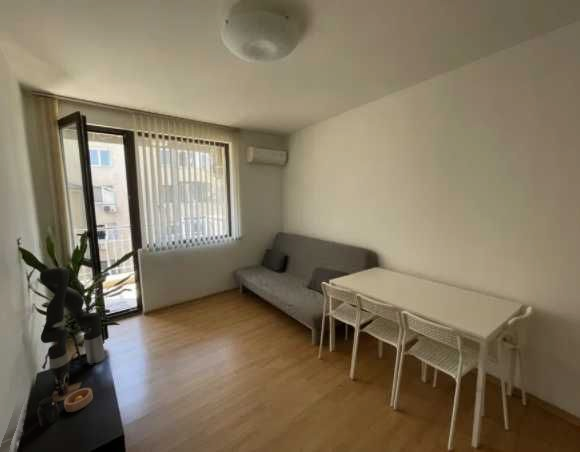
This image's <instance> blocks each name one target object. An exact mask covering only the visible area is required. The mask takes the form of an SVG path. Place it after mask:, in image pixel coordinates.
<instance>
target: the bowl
mask: <svg viewBox="0 0 580 452" xmlns="http://www.w3.org/2000/svg"><path fill="white" fill-rule="evenodd" d="M93 395H94V394H93V389H92V388H90V387H83V388H79V390H77V391H75V392H73V393H72V394H70V395H69V396H68V397H67V398H66V399H65V400H63V407H64V410H65V411H66V412H67V413H73V412H76V411H79V410H81V409H83V408H85V407H86V406H88V404H90V403H91V402H92V401H93V397H94V396H93ZM78 396H83V399H81V400H79V401H77V402H74V400H75V398H76V397H78Z"/></svg>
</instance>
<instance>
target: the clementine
mask: <svg viewBox="0 0 580 452" xmlns="http://www.w3.org/2000/svg"><path fill="white" fill-rule="evenodd" d="M81 399H83V396H78V397H76V398H75V400H74V402H77V401H79V400H81Z"/></svg>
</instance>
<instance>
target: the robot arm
mask: <svg viewBox="0 0 580 452" xmlns="http://www.w3.org/2000/svg"><path fill="white" fill-rule="evenodd" d="M39 280H40V282H41V284H42V285H43V286H44V287H45V288H47V289H48V290H49V291H50V292H51V293H52V294H53V297H52V299H51V300H50V302H49V303H48V305H47V308H46V314H45V315H46V316H45V323H44V325H43V326H44V327H43V329H42V330H41V331H42V332H41V335H40V340H41V342H42V343H43V344H50V343H54V344H52V345H50V346H49V347H48V348H47V349H48V350H47V352H48V353H47V354H48V357H49V358H48V359H49V360H48V362H49V368H50V369H49V370H50V374H51V376H55V380H53V387H54V391H55V392H56V391H58V396H62V395H64V389H63V384H64V383H67V384H68V386H69V385H70V381H69V378H70V368H71V367H70V360H69V355H68V353H67V347H66V344H67V338H68V334H69V331H68V329H67V327H65V326H60V327H55V325H56V324H59V323H62V322H63V321H64V319H65V309H66V311H68V313H69V314H70V315H71V316H72V318H73V320H74V321H75V323H76V325H77V326H78V327H79V328H82V329H87V328H90V330H88V331H87V332H86V331H85V333H84V334H83V340H84V341H83V342H84V346H85V347H84V348H85V353H86V358H87V359H86V360H87V364H88V363H89V364H88V365H93V364H92V363H96V364H98V363H100V362H102V361H103V360H105V358H106V354H105V349H104V348H105V347H104V342H103V334H102V329H103V328H102V319H101V318H102V317H101V315H100V312H96V311H95V312H85V311H84V310H83V306H84V304H85V299H84V298H83V296H82V294H81V293H80V292H79V291H78V290H76V289H75V288H72V287H70V286H68V285H69V282H70V271H69V268H66V267H64V266H63V267H62V266H61V267H53V268H48V269H47V268H46V269H43V270H42V271H41V272H40V273H39ZM56 342H57V343H56Z"/></svg>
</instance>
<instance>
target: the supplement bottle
mask: <svg viewBox="0 0 580 452" xmlns="http://www.w3.org/2000/svg"><path fill="white" fill-rule="evenodd" d="M37 416H38V421H39V425H40V427H41V428H46V427H49V426H50V425H53V424H54V423H56V422H57V421H58V420H59V418H60V411H59V406H58V402H56V401H53V397H51V396H47V397H45V398H43V399H41V400H40V401H39V402H38V408H37Z"/></svg>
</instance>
